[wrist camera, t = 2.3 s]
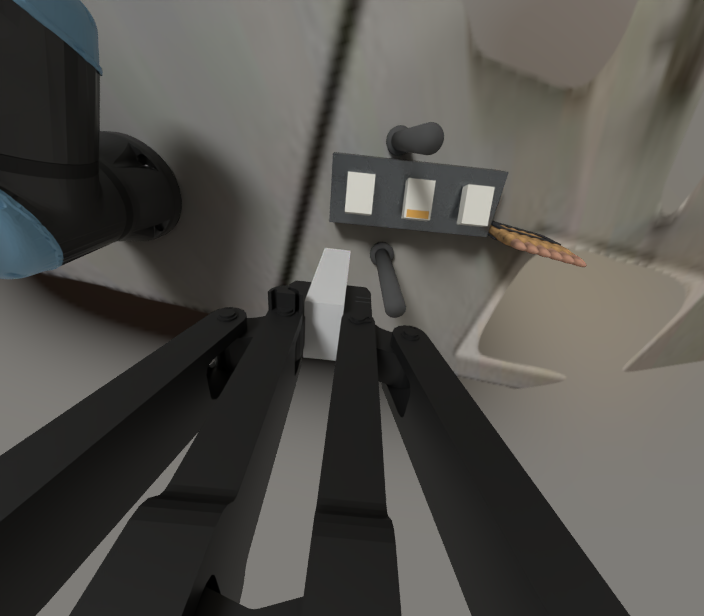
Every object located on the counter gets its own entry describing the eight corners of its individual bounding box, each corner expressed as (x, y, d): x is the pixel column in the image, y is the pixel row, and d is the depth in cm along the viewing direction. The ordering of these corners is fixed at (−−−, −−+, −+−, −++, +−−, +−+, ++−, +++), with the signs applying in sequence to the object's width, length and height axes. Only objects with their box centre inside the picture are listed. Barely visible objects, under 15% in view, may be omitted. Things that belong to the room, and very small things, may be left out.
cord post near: (384, 153, 41) (404, 160, 25) (388, 124, 39) (412, 110, 23) (408, 156, 41) (444, 164, 25) (414, 127, 39) (456, 116, 23)
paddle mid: (401, 218, 40) (403, 217, 38) (405, 181, 39) (408, 177, 37) (426, 221, 40) (430, 220, 38) (431, 183, 39) (435, 180, 37)
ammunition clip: (543, 235, 47) (597, 261, 37) (537, 245, 48) (587, 274, 38) (484, 218, 46) (523, 240, 35) (479, 229, 47) (515, 254, 36)
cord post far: (368, 263, 50) (375, 321, 33) (371, 241, 48) (380, 291, 31) (391, 265, 50) (409, 324, 34) (395, 243, 48) (416, 294, 32)
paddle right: (456, 224, 40) (461, 223, 39) (462, 187, 39) (468, 184, 38) (481, 226, 40) (487, 225, 39) (488, 189, 39) (494, 187, 38)
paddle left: (344, 213, 40) (344, 211, 38) (347, 174, 39) (348, 171, 37) (370, 215, 40) (371, 214, 38) (374, 177, 39) (375, 174, 37)
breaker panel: (331, 215, 46) (329, 221, 42) (334, 152, 41) (333, 153, 38) (476, 230, 47) (486, 237, 43) (495, 169, 42) (508, 172, 39)
